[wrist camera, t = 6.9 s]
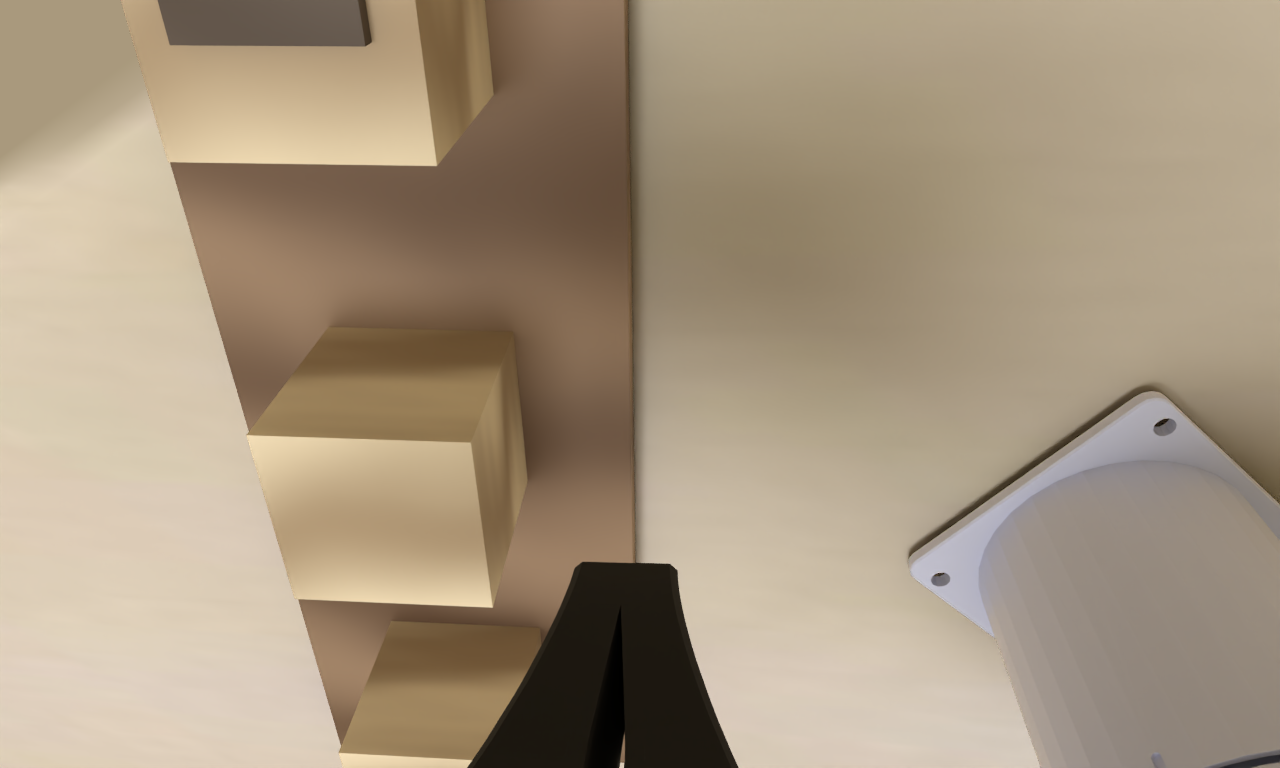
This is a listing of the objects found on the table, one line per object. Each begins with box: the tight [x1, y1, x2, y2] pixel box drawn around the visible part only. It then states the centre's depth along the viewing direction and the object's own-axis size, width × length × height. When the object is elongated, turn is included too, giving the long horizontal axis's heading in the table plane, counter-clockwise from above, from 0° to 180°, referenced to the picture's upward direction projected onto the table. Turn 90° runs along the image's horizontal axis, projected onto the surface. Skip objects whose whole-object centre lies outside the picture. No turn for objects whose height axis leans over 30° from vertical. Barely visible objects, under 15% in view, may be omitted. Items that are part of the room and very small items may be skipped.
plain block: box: [246, 327, 528, 608], centre depth 21 cm, size 4×4×4 cm
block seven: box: [339, 621, 541, 768], centre depth 26 cm, size 4×4×5 cm
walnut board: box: [170, 0, 636, 763], centre depth 23 cm, size 28×10×1 cm, turn 1°
